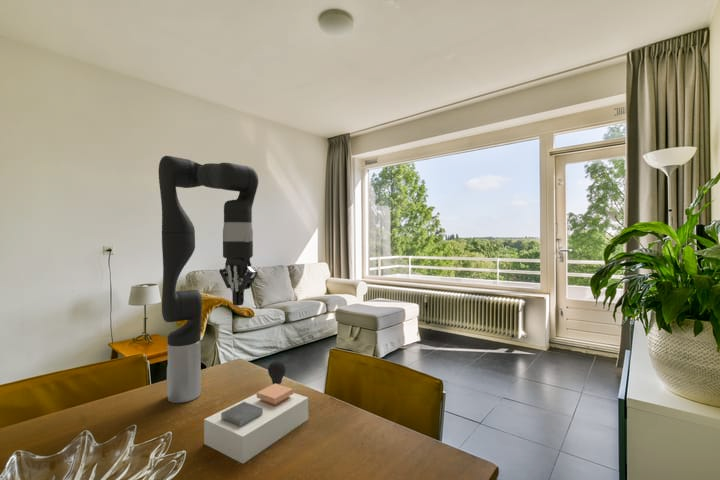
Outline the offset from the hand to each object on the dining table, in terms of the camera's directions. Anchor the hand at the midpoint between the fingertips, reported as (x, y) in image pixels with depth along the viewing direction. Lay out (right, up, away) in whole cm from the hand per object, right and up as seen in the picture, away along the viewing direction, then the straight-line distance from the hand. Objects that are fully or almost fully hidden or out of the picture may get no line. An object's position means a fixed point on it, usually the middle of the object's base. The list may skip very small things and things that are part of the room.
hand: (238, 304), depth 92 cm
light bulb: (+5, -32, +20) cm, 38 cm away
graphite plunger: (+4, -31, -7) cm, 32 cm away
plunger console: (+6, -32, -3) cm, 33 cm away
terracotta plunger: (+9, -30, +2) cm, 32 cm away
